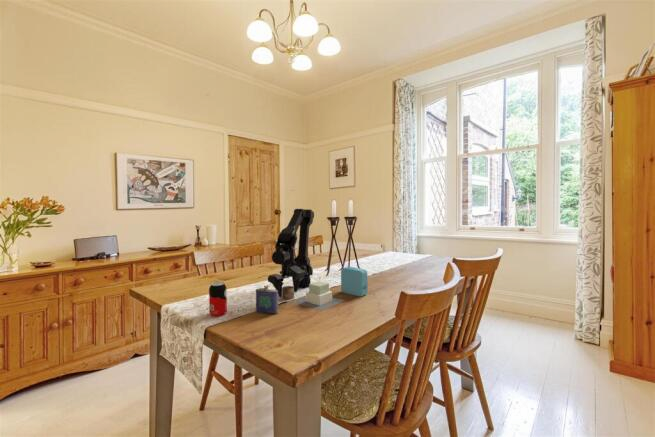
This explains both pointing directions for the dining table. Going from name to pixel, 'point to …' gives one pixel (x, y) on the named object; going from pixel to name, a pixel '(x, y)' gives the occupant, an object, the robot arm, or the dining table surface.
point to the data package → (354, 281)
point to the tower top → (319, 287)
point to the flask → (266, 300)
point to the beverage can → (217, 299)
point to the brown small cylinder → (288, 292)
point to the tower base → (319, 298)
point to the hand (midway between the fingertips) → (288, 294)
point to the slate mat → (322, 307)
